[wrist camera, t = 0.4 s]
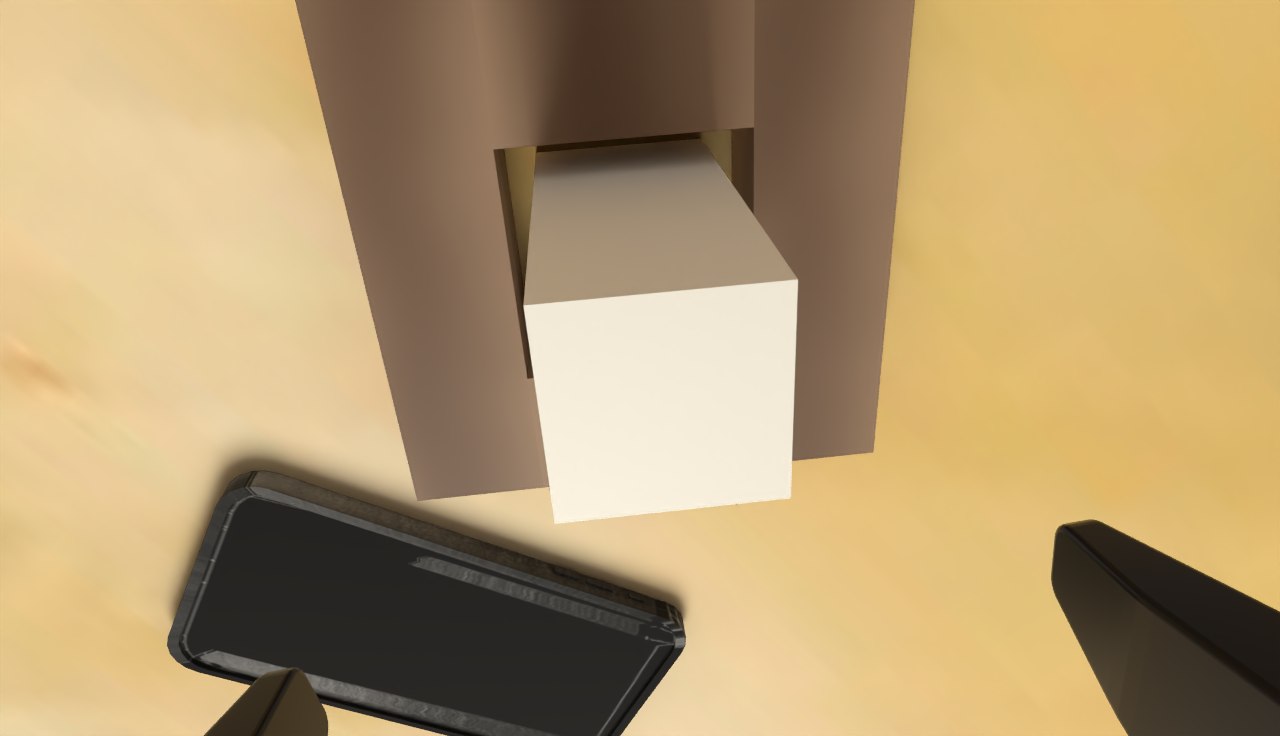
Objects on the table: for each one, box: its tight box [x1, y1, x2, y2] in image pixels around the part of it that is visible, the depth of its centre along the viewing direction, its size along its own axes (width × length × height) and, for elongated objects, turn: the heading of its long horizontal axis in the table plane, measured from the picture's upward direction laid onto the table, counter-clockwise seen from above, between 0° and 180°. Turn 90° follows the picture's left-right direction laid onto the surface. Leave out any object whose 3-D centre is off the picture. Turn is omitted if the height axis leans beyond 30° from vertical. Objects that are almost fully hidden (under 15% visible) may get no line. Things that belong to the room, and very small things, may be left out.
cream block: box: [523, 139, 798, 524], centre depth 17 cm, size 4×4×9 cm
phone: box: [167, 471, 686, 736], centre depth 26 cm, size 8×1×15 cm
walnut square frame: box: [295, 0, 915, 501], centre depth 19 cm, size 12×12×2 cm
